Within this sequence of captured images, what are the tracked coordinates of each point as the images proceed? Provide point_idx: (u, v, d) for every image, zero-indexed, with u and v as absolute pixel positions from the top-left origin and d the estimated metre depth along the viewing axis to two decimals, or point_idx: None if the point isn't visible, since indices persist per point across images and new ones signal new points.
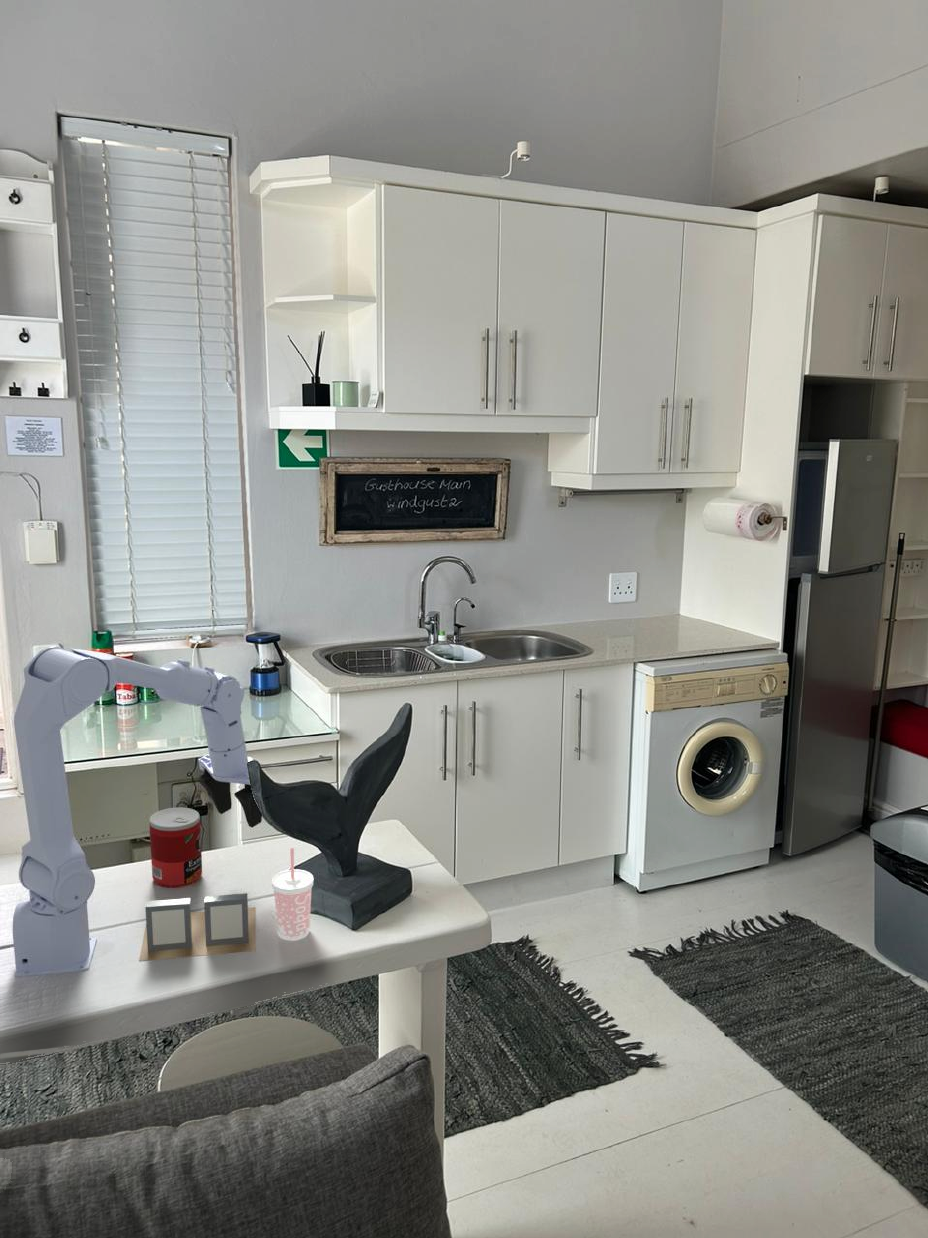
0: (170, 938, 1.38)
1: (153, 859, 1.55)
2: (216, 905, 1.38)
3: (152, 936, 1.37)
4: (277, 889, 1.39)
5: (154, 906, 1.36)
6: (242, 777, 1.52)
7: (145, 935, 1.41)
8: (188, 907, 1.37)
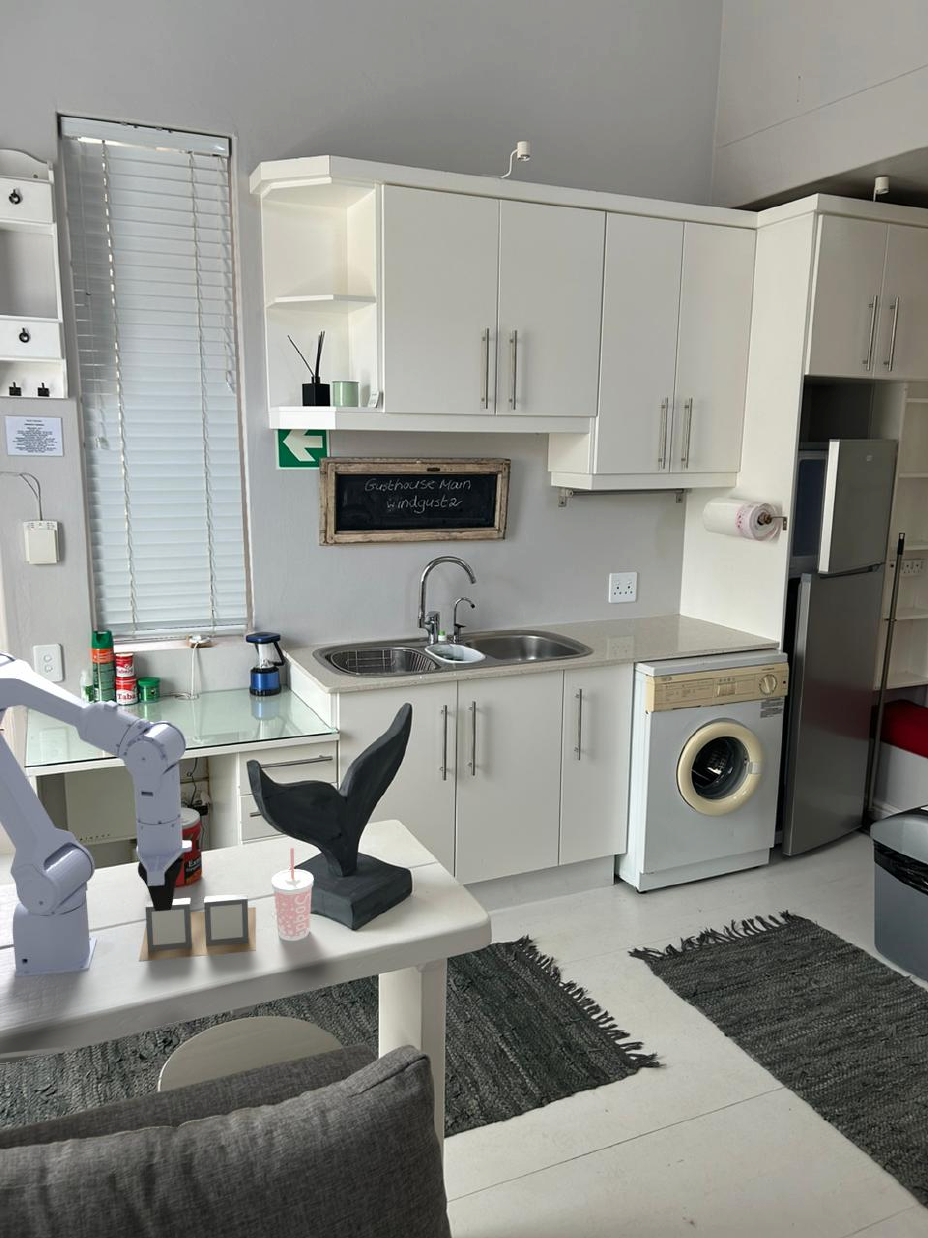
0: (170, 938, 1.38)
1: None
2: (216, 905, 1.38)
3: (152, 936, 1.37)
4: (277, 889, 1.39)
5: None
6: (153, 861, 1.26)
7: (145, 935, 1.41)
8: (188, 907, 1.37)
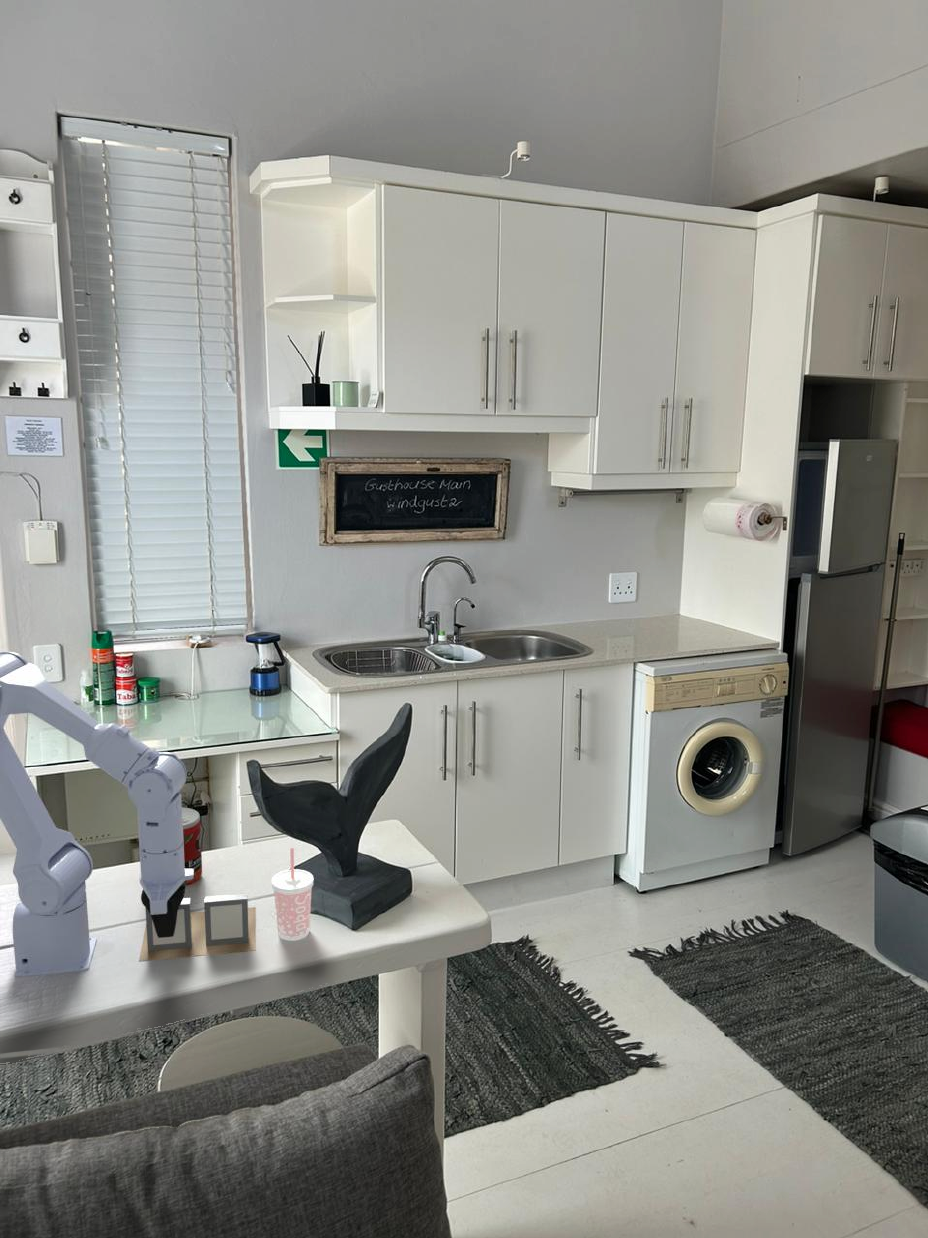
0: (170, 938, 1.38)
1: None
2: (216, 905, 1.38)
3: (152, 936, 1.37)
4: (277, 889, 1.39)
5: None
6: (156, 889, 1.28)
7: (145, 935, 1.41)
8: (188, 907, 1.37)
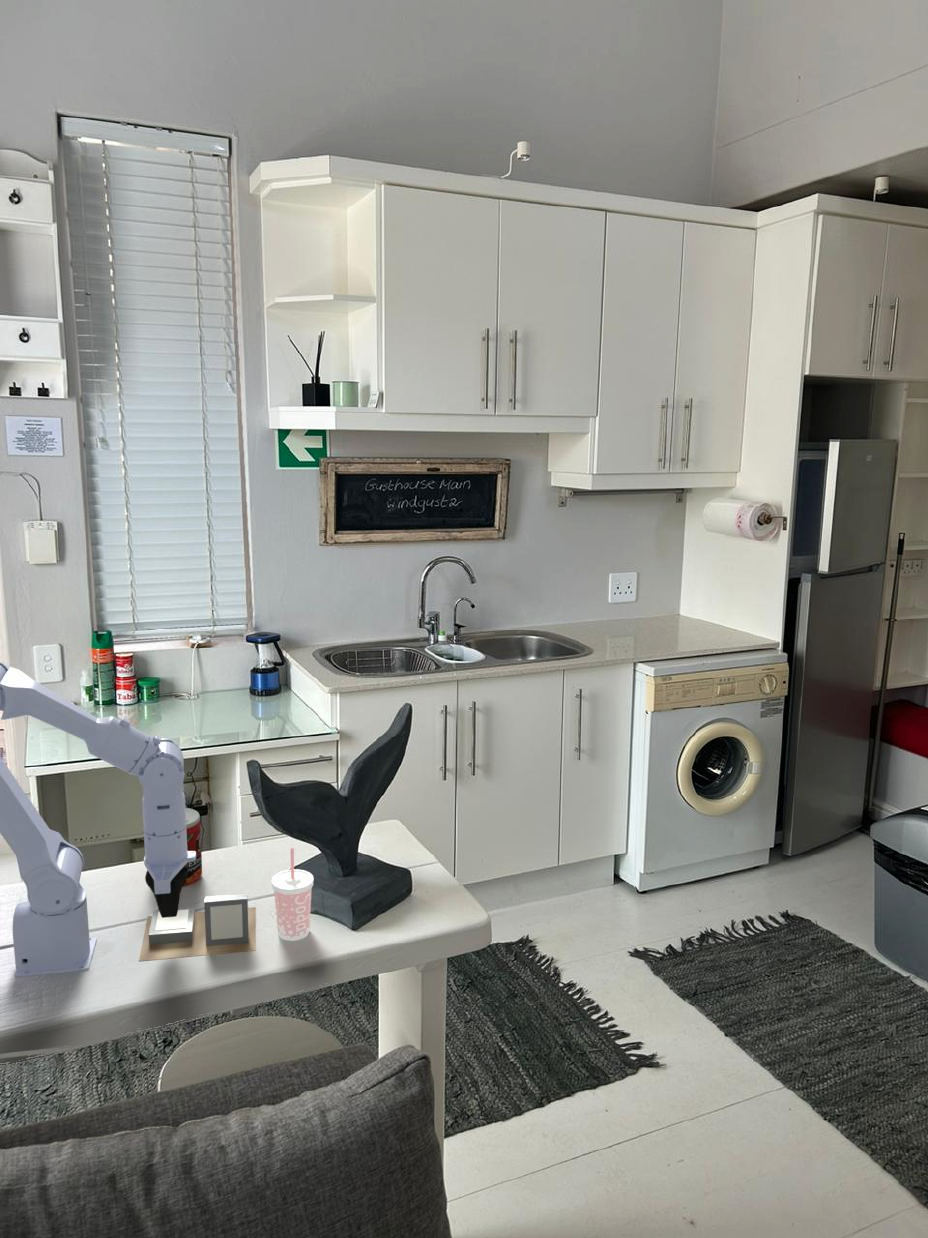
0: (172, 926, 1.41)
1: None
2: (216, 905, 1.38)
3: (155, 925, 1.41)
4: (277, 889, 1.39)
5: None
6: (160, 870, 1.33)
7: (145, 935, 1.41)
8: (193, 908, 1.46)
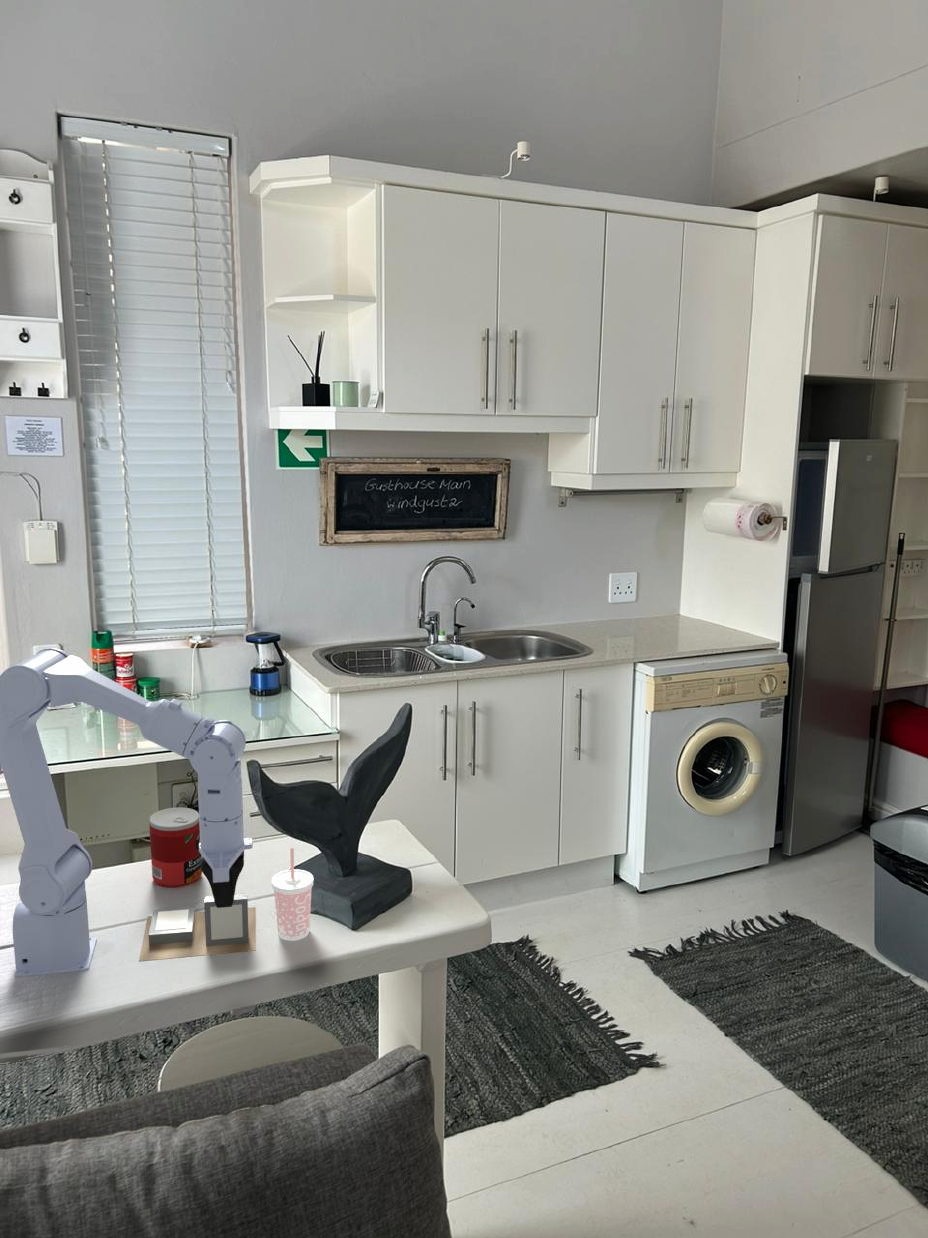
0: (172, 926, 1.41)
1: (153, 859, 1.55)
2: None
3: (155, 925, 1.41)
4: (277, 889, 1.39)
5: (161, 910, 1.46)
6: (217, 858, 1.27)
7: (145, 935, 1.41)
8: (193, 908, 1.46)
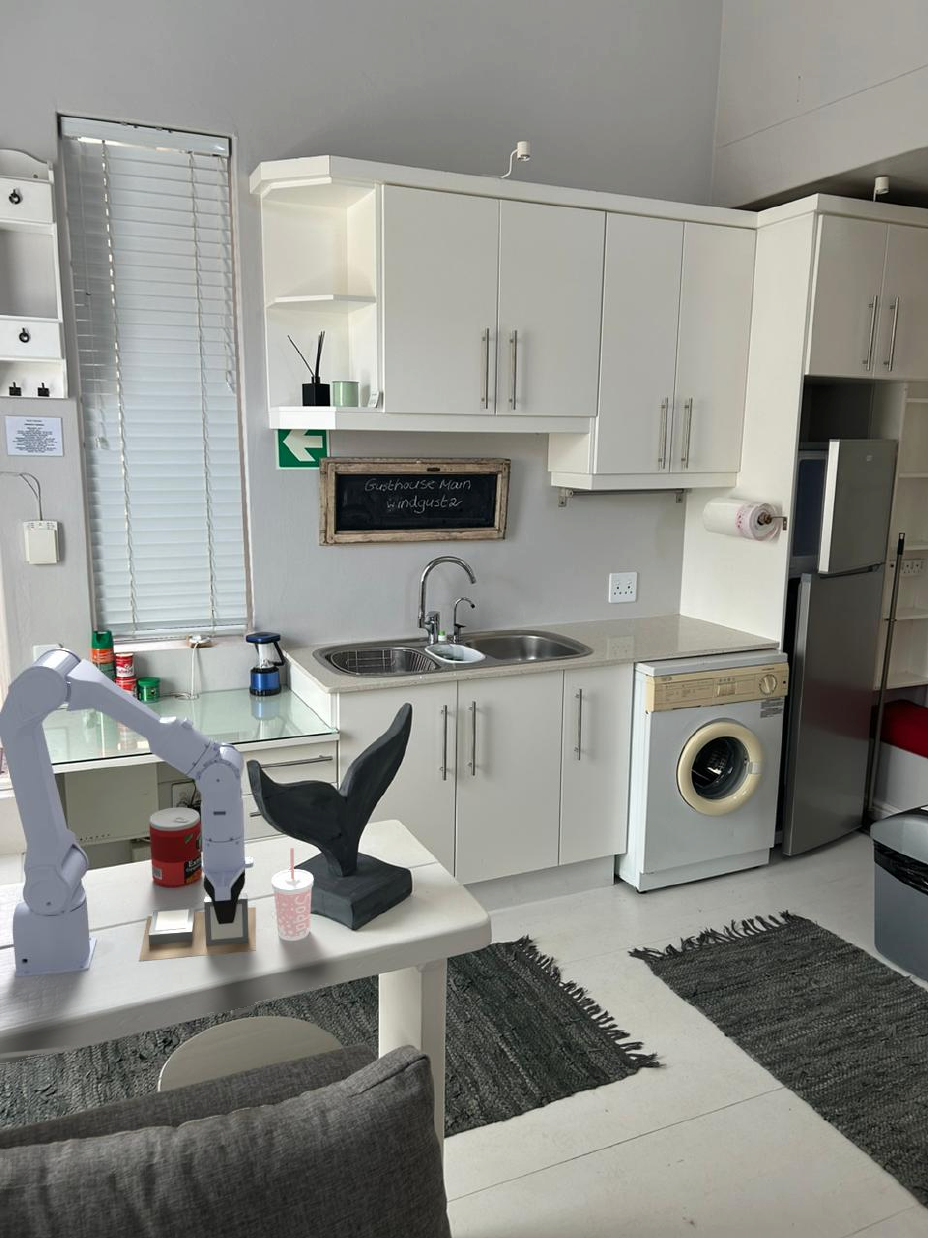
0: (172, 926, 1.41)
1: (153, 859, 1.55)
2: None
3: (155, 925, 1.41)
4: (277, 889, 1.39)
5: (161, 910, 1.46)
6: (219, 877, 1.32)
7: (145, 935, 1.41)
8: (193, 908, 1.46)
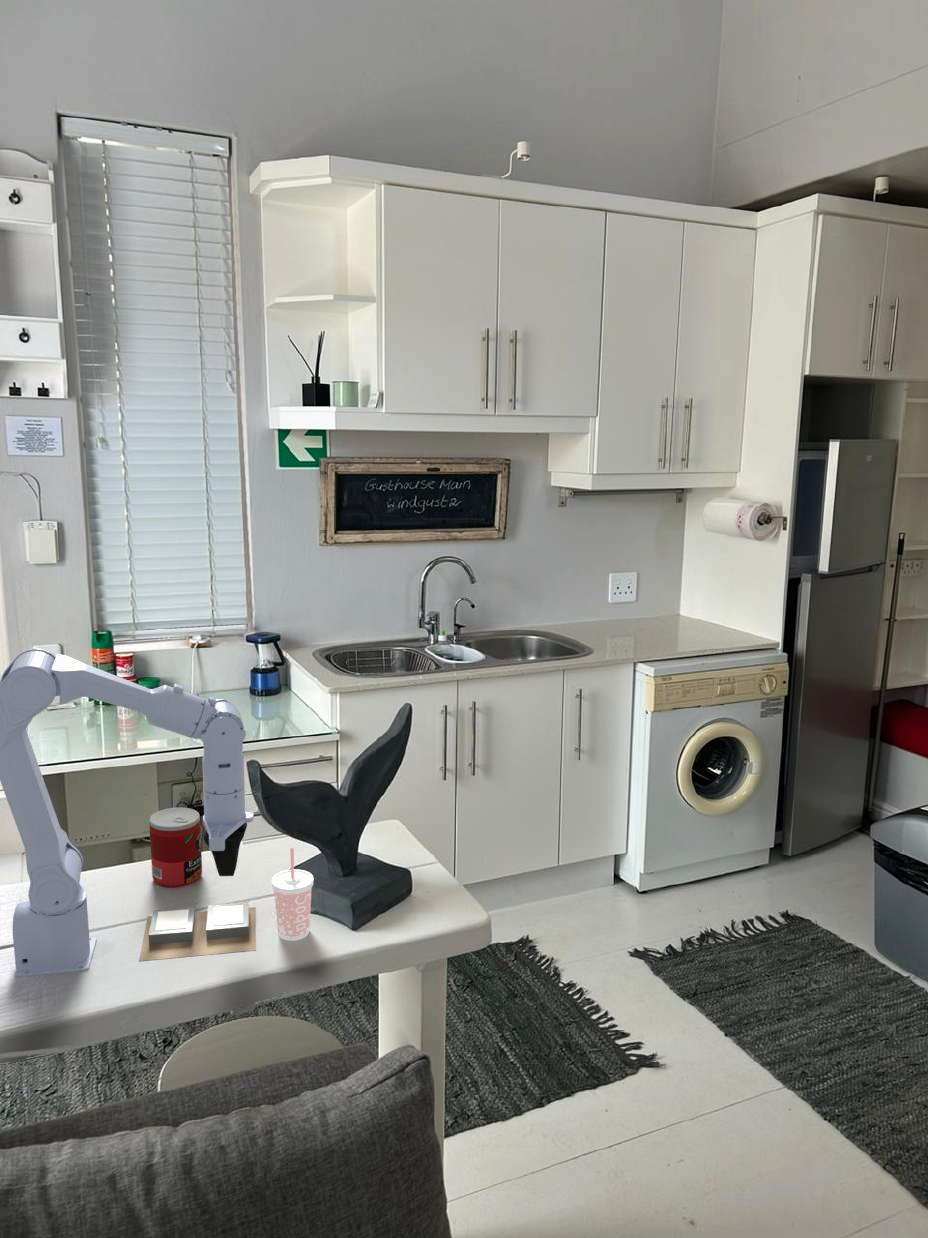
0: (172, 926, 1.41)
1: (153, 859, 1.55)
2: (219, 907, 1.47)
3: (155, 925, 1.41)
4: (277, 889, 1.39)
5: (161, 910, 1.46)
6: (217, 828, 1.35)
7: (145, 935, 1.41)
8: (193, 908, 1.46)
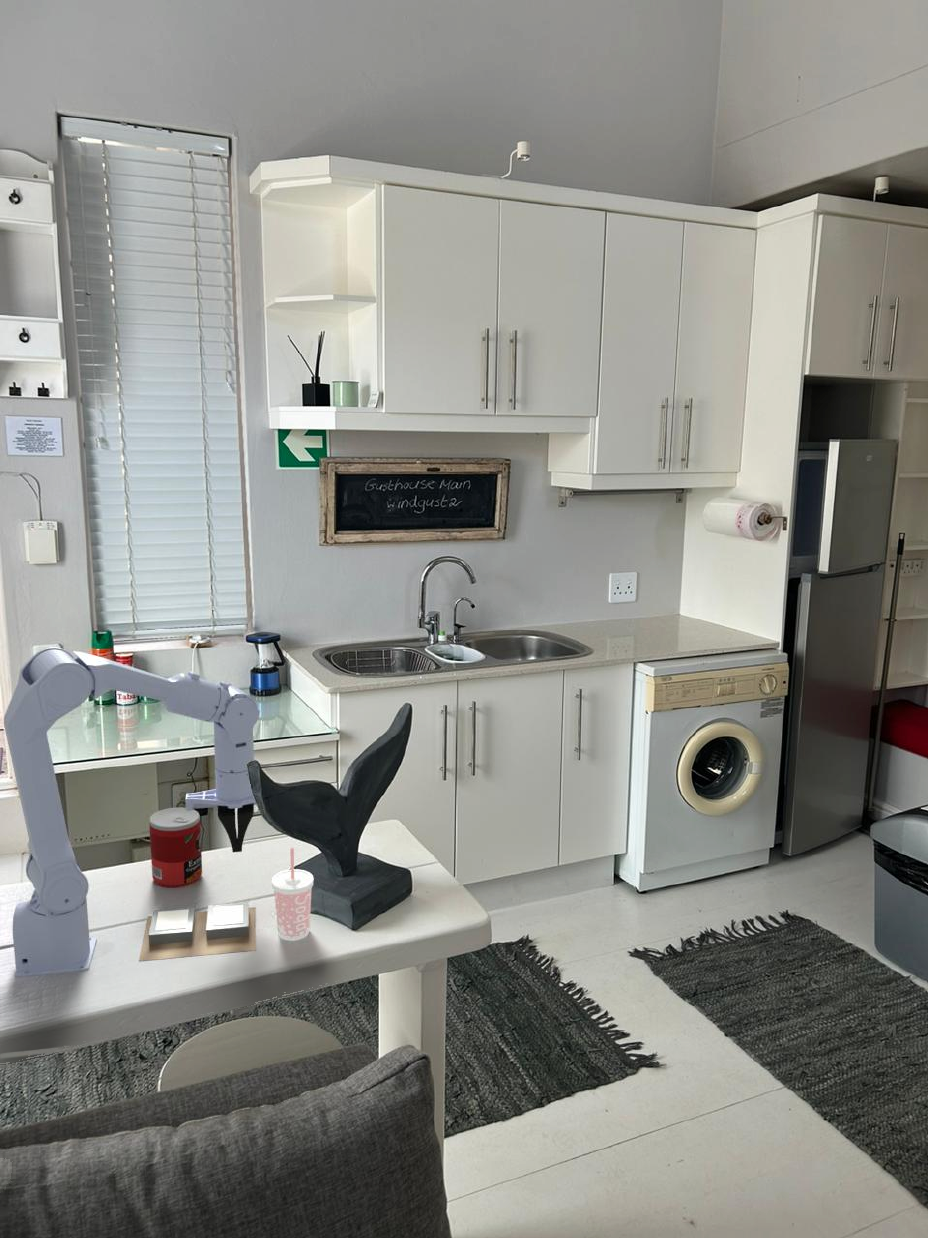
0: (172, 926, 1.41)
1: (153, 859, 1.55)
2: (219, 907, 1.47)
3: (155, 925, 1.41)
4: (277, 889, 1.39)
5: (161, 910, 1.46)
6: None
7: (145, 935, 1.41)
8: (193, 908, 1.46)
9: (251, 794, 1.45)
